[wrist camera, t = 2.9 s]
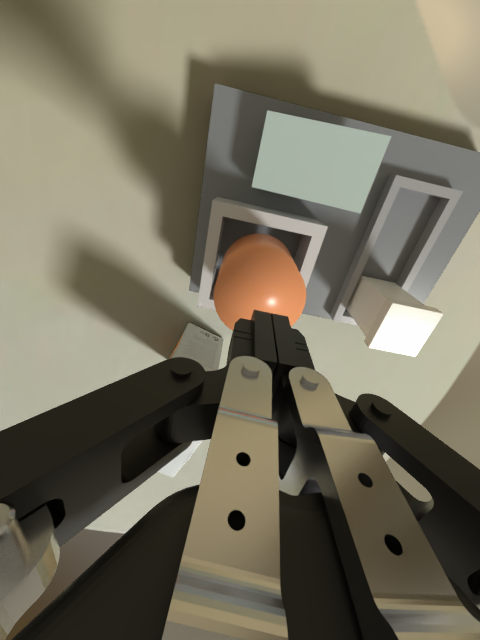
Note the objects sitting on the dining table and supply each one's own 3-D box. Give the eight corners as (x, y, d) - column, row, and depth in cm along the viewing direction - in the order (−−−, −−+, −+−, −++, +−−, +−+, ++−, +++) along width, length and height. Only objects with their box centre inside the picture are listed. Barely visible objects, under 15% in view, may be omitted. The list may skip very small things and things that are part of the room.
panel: (194, 280, 25) (181, 305, 20) (218, 93, 18) (208, 65, 14) (392, 321, 27) (423, 353, 22) (481, 161, 20) (556, 158, 15)
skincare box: (188, 320, 27) (149, 411, 17) (224, 338, 28) (210, 435, 18) (166, 360, 30) (121, 462, 19) (200, 375, 31) (175, 480, 20)
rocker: (255, 187, 18) (251, 187, 17) (270, 115, 16) (267, 110, 15) (357, 211, 17) (360, 213, 16) (386, 139, 15) (391, 136, 14)
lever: (342, 309, 23) (368, 347, 18) (358, 272, 21) (392, 303, 16) (379, 316, 23) (415, 356, 18) (398, 280, 22) (443, 313, 17)
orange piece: (216, 294, 20) (207, 329, 15) (229, 225, 17) (222, 243, 13) (281, 307, 20) (290, 345, 16) (302, 242, 18) (319, 264, 13)
